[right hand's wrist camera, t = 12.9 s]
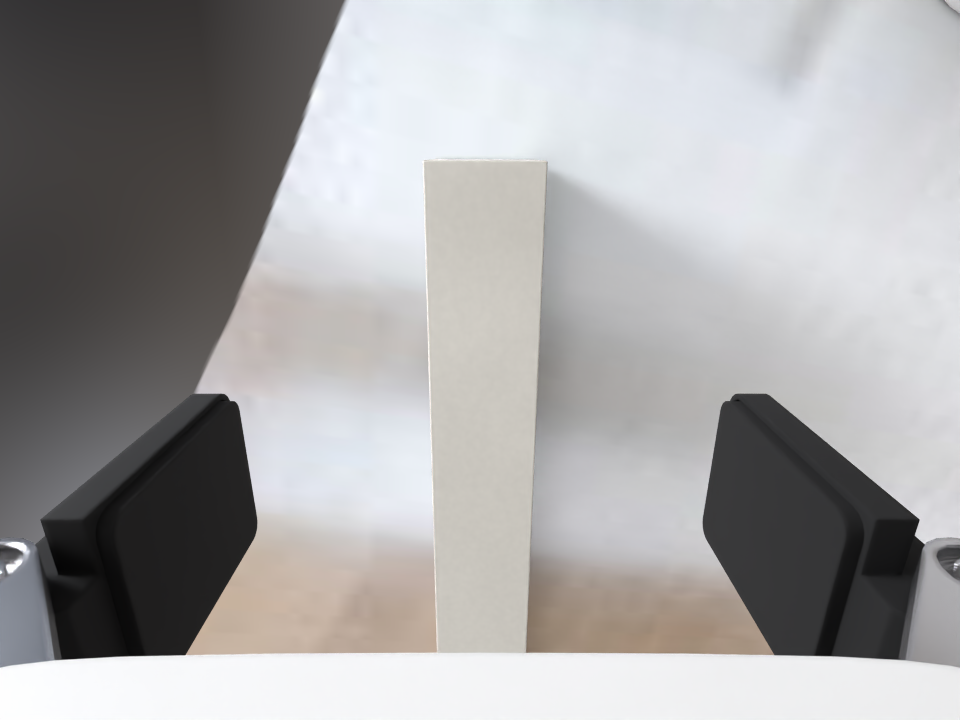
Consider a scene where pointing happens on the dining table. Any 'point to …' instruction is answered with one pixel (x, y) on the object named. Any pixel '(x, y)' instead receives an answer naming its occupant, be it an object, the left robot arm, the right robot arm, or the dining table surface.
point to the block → (483, 392)
